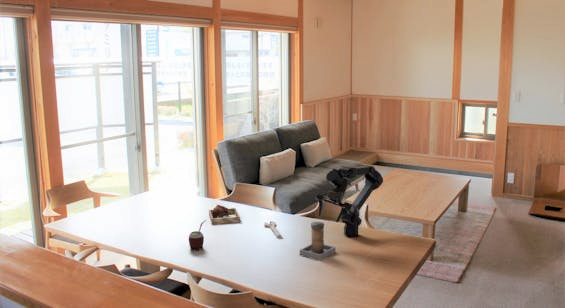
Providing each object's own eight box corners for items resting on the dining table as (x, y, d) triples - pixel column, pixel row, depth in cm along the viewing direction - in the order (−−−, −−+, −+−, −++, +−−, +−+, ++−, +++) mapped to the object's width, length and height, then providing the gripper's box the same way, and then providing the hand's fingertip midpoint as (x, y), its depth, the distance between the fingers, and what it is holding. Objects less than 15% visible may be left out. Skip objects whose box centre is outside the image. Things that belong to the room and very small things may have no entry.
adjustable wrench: (282, 239, 268) (282, 236, 267) (270, 240, 267) (270, 236, 266) (274, 223, 292) (274, 220, 291) (263, 224, 291) (263, 221, 290)
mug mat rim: (235, 212, 311) (235, 208, 311) (240, 221, 295) (239, 216, 294) (209, 214, 308) (208, 209, 307) (211, 224, 291) (211, 218, 291)
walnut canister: (316, 248, 251) (316, 221, 249) (326, 251, 247) (326, 223, 244) (308, 251, 247) (308, 223, 244) (318, 254, 242) (318, 226, 240)
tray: (314, 246, 255) (314, 242, 255) (335, 252, 248) (335, 247, 248) (299, 254, 245) (299, 249, 245) (320, 260, 238) (320, 255, 238)
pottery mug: (208, 217, 306) (213, 203, 307) (223, 222, 308) (228, 209, 310) (213, 217, 294) (218, 203, 296) (228, 223, 297) (233, 209, 299)
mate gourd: (187, 247, 256) (186, 217, 253) (203, 245, 259) (202, 215, 256) (191, 252, 249) (190, 222, 247) (207, 250, 252) (206, 220, 250)
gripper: (318, 178, 256) (306, 208, 252) (354, 189, 248) (342, 220, 244) (324, 186, 266) (312, 214, 262) (358, 197, 258) (347, 226, 254)
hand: (328, 219), depth 255 cm, fingers open, 9 cm apart
